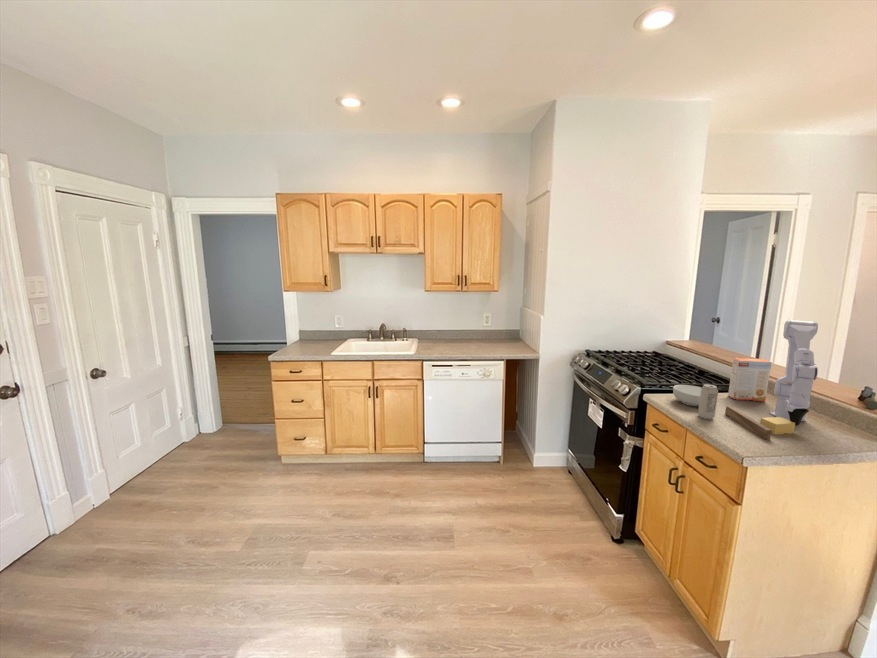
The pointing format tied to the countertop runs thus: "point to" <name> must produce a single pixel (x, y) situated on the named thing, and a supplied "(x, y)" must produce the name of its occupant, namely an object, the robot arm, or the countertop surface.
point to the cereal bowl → (687, 394)
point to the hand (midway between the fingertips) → (794, 424)
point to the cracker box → (749, 379)
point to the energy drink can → (708, 401)
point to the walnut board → (748, 422)
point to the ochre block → (778, 425)
